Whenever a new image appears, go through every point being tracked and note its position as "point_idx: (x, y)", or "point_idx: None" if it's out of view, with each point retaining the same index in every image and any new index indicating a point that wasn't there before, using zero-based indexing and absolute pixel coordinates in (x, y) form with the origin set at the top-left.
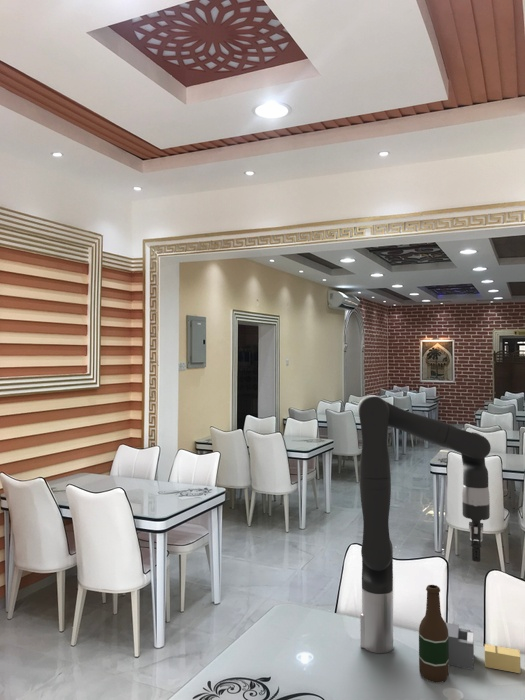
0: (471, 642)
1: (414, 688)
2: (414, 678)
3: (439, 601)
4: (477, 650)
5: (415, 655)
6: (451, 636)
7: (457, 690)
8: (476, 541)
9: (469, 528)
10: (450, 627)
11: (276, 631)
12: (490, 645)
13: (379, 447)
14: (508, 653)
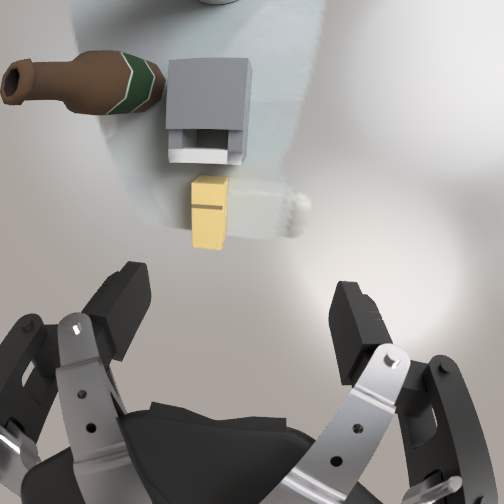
0: (175, 158)
1: None
2: None
3: (42, 99)
4: (268, 165)
5: (204, 44)
6: (167, 114)
7: (112, 130)
8: (347, 354)
9: (74, 469)
10: (218, 108)
11: None
12: (220, 196)
13: None
14: (198, 228)
